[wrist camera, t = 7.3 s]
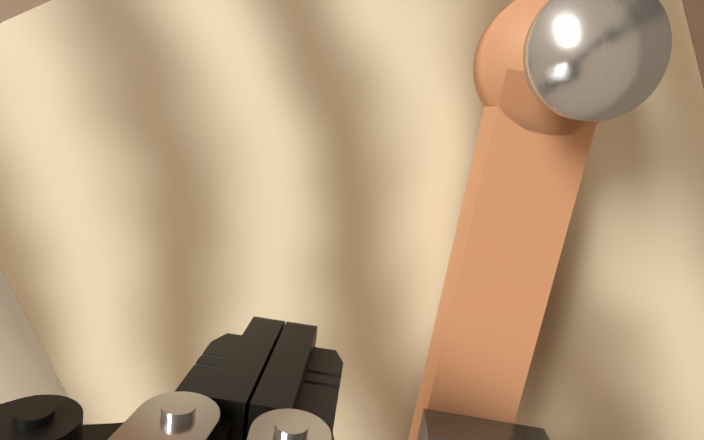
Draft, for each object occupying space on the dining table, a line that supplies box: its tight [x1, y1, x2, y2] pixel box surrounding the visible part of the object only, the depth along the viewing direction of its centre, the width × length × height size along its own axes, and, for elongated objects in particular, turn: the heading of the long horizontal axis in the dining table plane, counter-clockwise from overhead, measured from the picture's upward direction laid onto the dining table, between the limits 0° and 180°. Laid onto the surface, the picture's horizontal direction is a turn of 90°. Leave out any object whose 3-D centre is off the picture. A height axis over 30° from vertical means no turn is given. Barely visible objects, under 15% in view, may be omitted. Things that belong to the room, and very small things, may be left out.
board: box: [0, 0, 704, 440], centre depth 20 cm, size 26×28×1 cm
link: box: [408, 0, 601, 440], centre depth 18 cm, size 18×4×2 cm, turn 170°
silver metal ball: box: [523, 0, 672, 121], centre depth 14 cm, size 3×3×3 cm
